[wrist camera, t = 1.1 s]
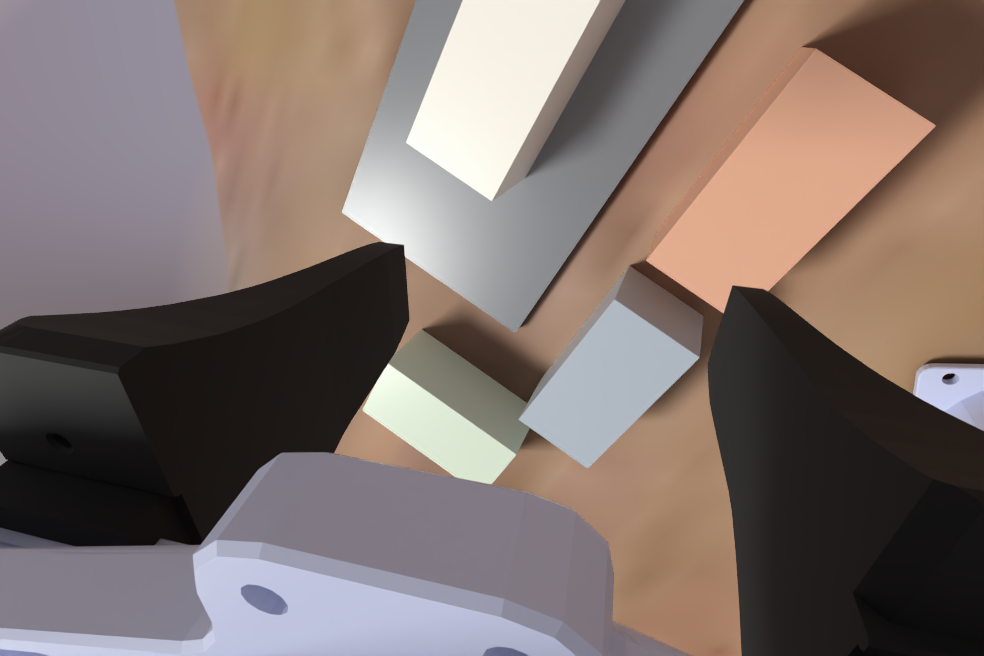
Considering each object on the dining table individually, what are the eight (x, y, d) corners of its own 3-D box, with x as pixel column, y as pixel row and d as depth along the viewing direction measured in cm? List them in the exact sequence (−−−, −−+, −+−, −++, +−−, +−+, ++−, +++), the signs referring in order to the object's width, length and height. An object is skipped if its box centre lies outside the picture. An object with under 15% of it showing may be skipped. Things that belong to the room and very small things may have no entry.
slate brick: (629, 264, 24) (614, 299, 21) (703, 314, 24) (699, 357, 21) (542, 376, 29) (518, 419, 26) (603, 419, 29) (587, 468, 25)
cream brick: (540, -74, 19) (501, -98, 16) (633, -14, 19) (613, -25, 16) (450, 128, 24) (406, 142, 20) (524, 178, 23) (492, 201, 20)
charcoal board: (566, -399, 16) (560, -414, 15) (885, -205, 15) (890, -214, 15) (348, 209, 28) (341, 212, 28) (518, 328, 28) (515, 333, 27)
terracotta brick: (800, 47, 19) (816, 48, 15) (899, 110, 18) (936, 125, 15) (657, 229, 23) (645, 260, 20) (735, 281, 23) (736, 322, 20)
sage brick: (398, 373, 33) (362, 410, 29) (423, 327, 30) (386, 362, 27) (506, 449, 32) (481, 495, 29) (539, 408, 30) (516, 454, 27)
